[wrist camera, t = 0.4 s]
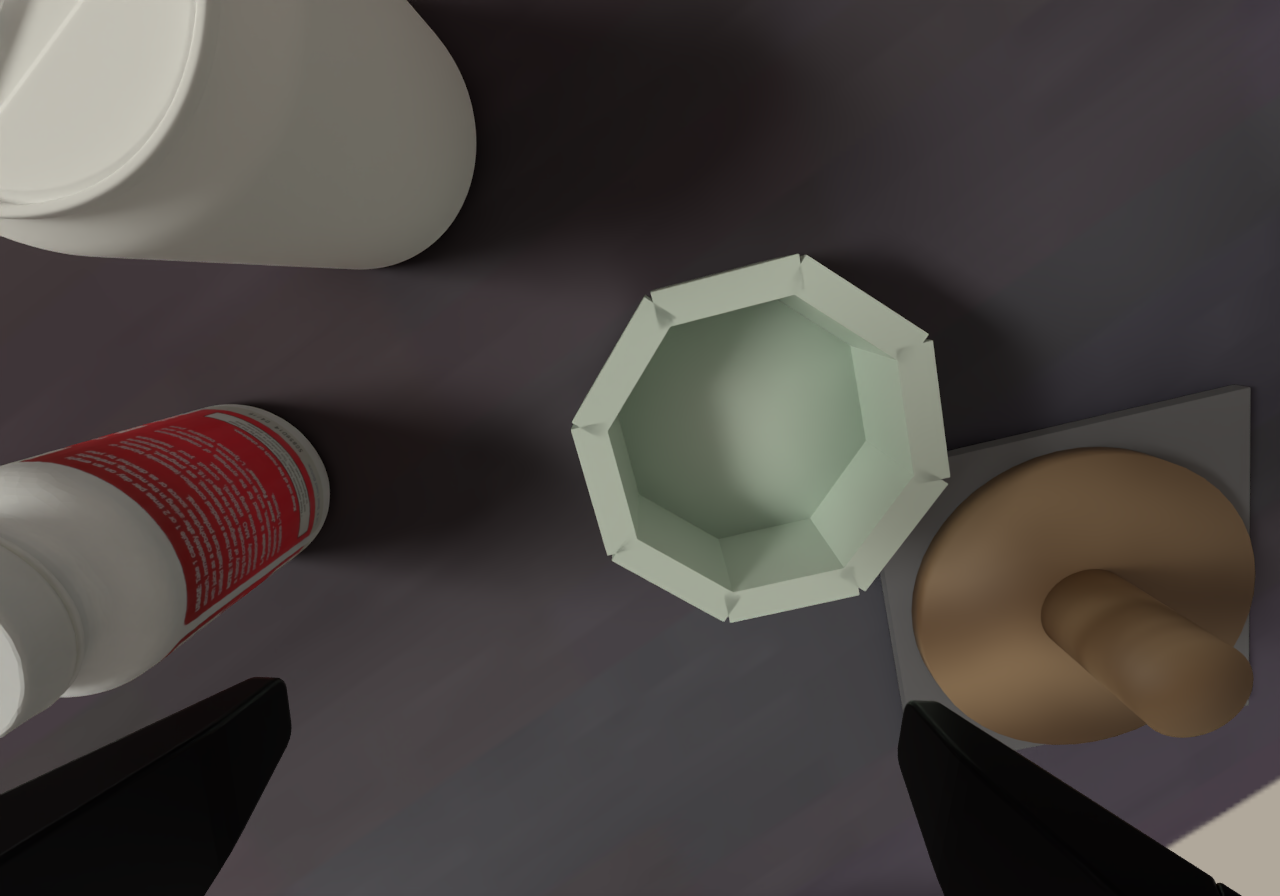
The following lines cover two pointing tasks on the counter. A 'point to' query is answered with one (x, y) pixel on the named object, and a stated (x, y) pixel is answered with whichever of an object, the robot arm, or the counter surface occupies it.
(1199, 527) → the lid
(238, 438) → the pill bottle
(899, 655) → the mat
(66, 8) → the beverage can
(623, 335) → the bowl
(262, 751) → the robot arm
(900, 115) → the counter surface
